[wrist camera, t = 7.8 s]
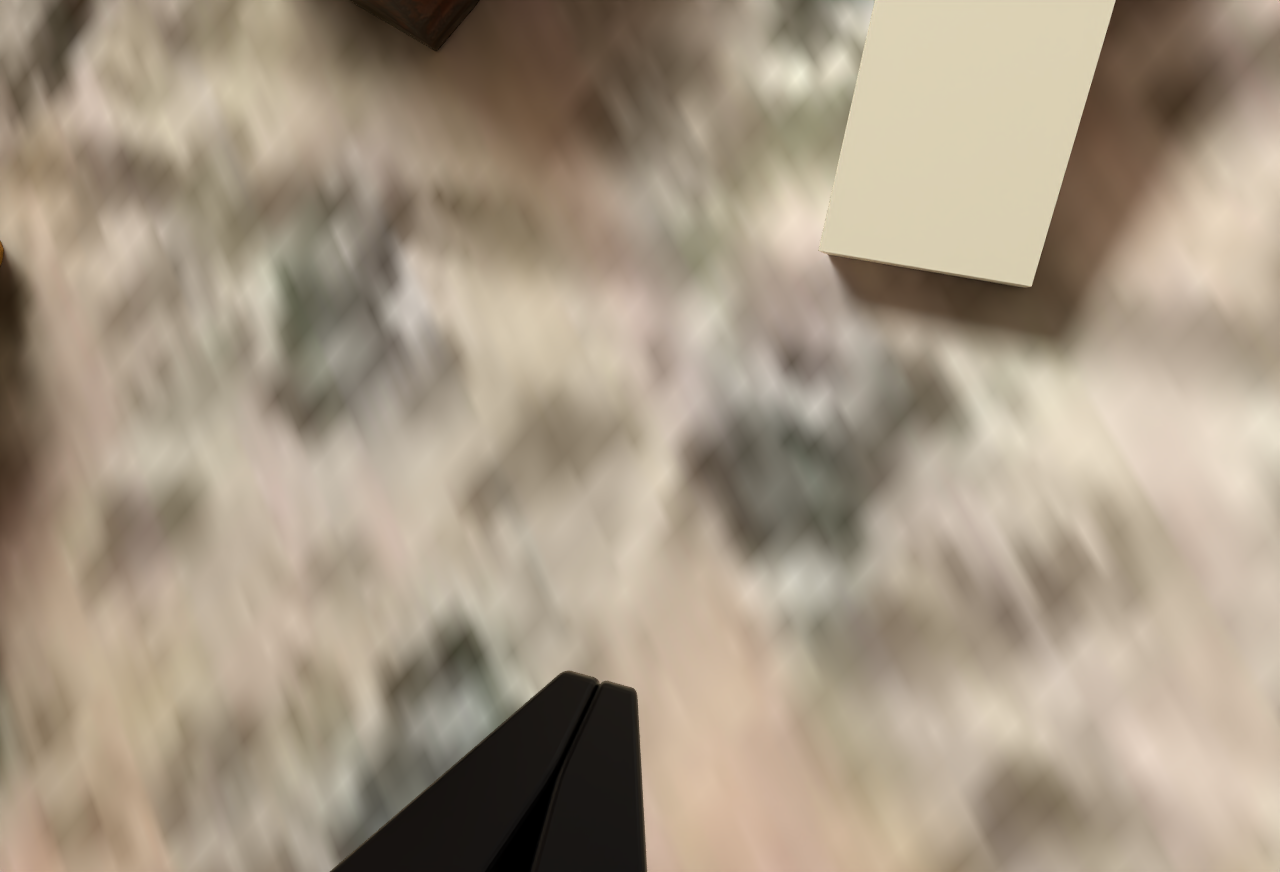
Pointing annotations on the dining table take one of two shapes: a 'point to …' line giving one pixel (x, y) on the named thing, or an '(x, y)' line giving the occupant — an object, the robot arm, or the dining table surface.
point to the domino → (962, 133)
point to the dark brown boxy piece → (421, 17)
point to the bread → (1, 253)
